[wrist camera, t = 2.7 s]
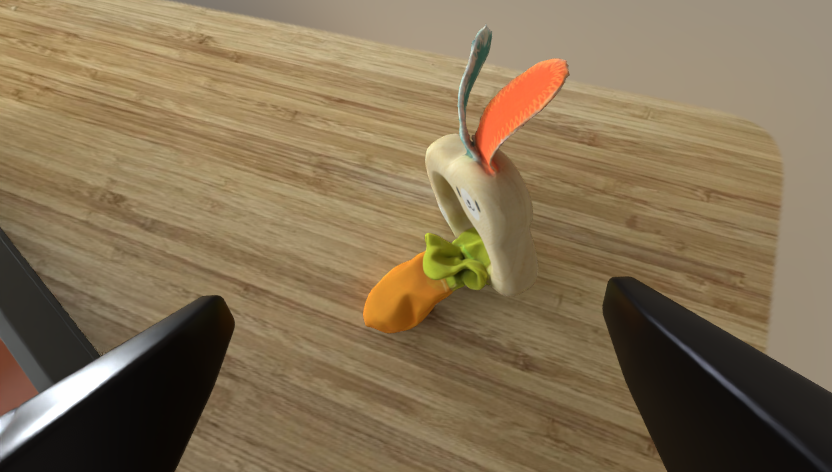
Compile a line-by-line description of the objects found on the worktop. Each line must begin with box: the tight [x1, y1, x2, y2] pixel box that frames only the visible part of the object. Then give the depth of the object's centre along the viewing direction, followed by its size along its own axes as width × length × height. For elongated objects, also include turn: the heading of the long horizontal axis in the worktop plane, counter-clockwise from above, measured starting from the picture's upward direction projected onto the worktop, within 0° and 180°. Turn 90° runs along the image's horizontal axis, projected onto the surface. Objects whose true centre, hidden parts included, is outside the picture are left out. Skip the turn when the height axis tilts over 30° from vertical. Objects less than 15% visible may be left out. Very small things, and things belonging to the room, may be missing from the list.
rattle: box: [363, 25, 569, 333], centre depth 13 cm, size 8×8×12 cm
